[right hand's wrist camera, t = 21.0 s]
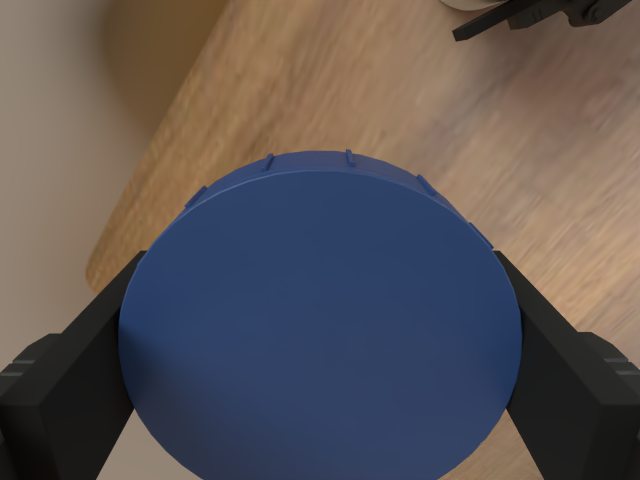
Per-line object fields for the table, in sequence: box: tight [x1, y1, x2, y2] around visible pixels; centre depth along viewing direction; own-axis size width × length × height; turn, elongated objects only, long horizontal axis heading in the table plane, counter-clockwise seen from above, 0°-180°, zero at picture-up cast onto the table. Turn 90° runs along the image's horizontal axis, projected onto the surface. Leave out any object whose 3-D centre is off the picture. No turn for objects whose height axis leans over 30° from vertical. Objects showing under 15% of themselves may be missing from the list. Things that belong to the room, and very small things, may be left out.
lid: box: [118, 149, 523, 480], centre depth 11 cm, size 9×9×2 cm
